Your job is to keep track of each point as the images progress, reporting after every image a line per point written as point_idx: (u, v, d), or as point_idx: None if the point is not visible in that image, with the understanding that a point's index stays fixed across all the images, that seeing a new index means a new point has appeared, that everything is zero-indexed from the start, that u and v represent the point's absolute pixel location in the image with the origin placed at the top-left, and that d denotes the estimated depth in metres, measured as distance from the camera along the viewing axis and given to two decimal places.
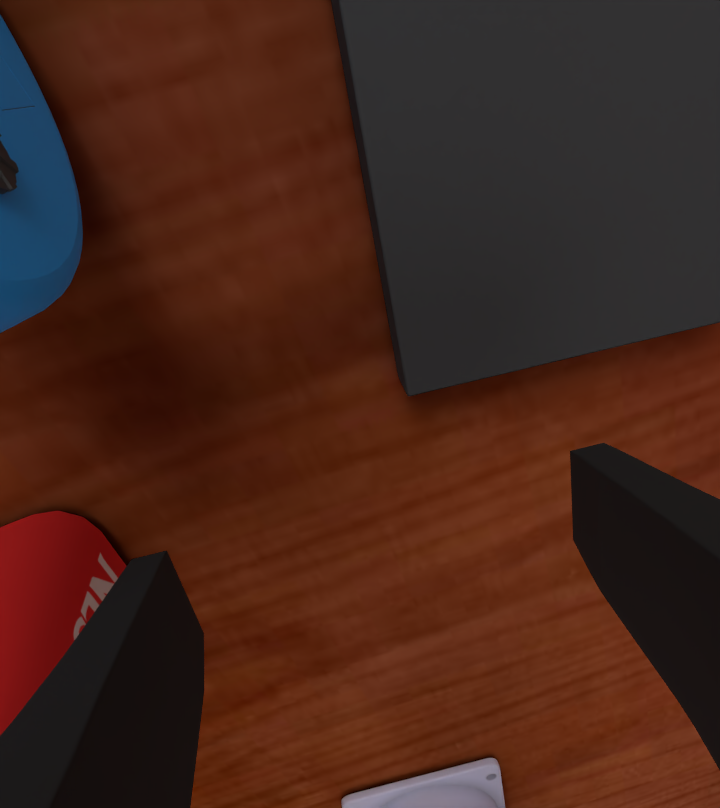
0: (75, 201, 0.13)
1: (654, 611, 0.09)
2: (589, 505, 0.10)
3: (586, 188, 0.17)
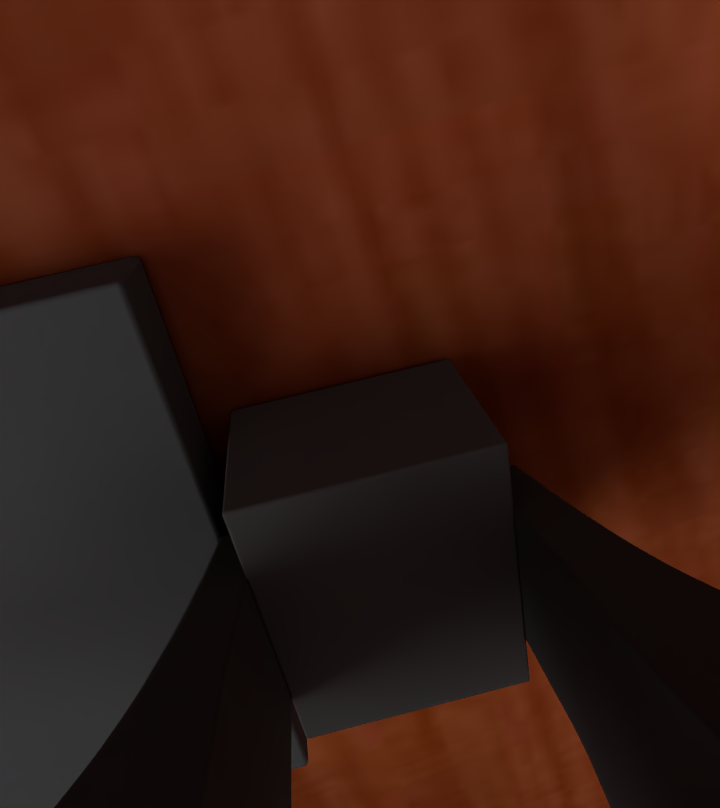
0: None
1: (550, 638, 0.09)
2: None
3: None
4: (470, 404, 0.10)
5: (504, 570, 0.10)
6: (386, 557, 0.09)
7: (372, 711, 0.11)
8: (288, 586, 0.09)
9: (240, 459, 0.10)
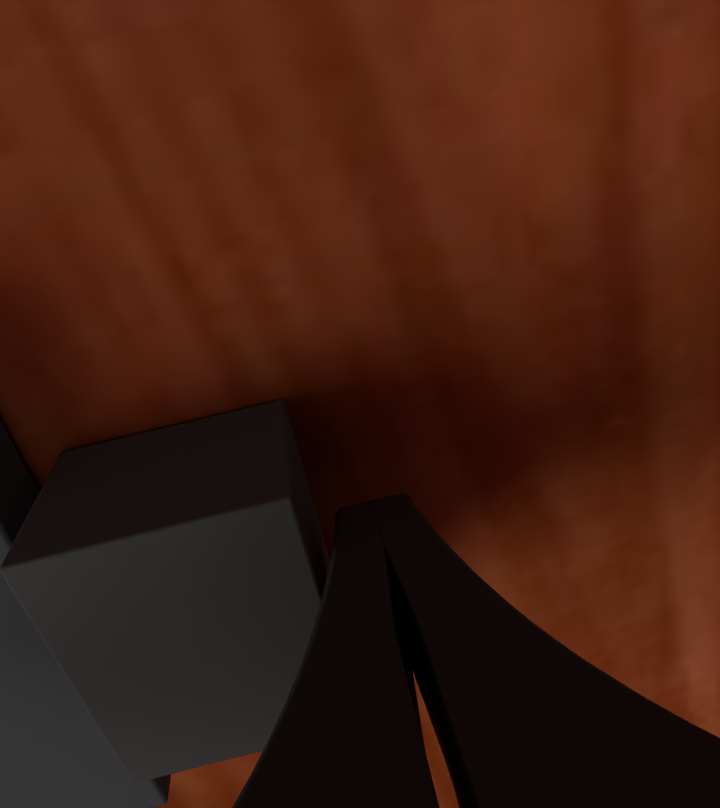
0: None
1: (420, 671, 0.09)
2: None
3: None
4: (277, 451, 0.10)
5: (311, 619, 0.10)
6: (181, 608, 0.09)
7: (198, 756, 0.11)
8: (83, 637, 0.09)
9: (43, 507, 0.09)
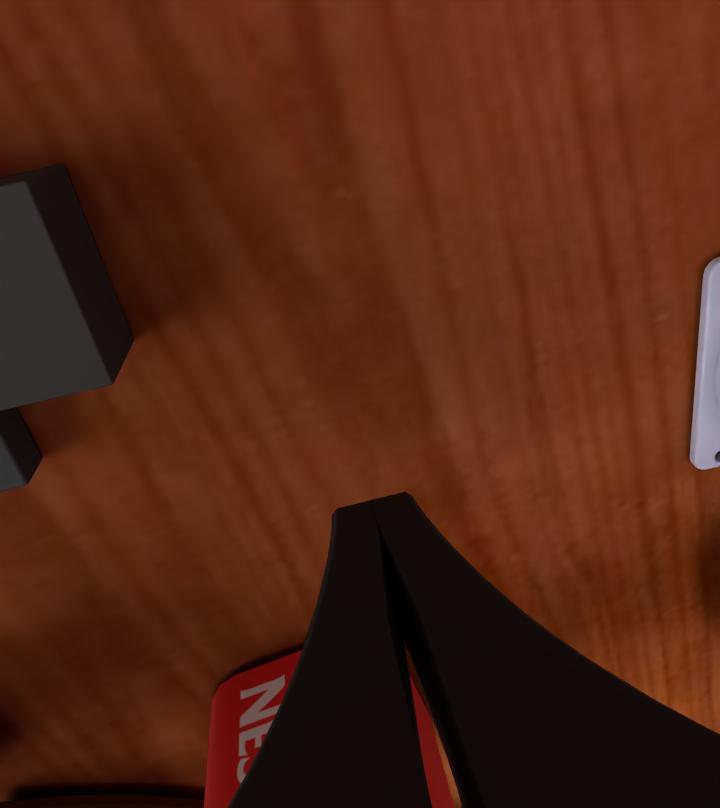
0: None
1: (423, 671, 0.09)
2: None
3: None
4: (36, 173, 0.14)
5: (58, 283, 0.14)
6: None
7: None
8: None
9: None
